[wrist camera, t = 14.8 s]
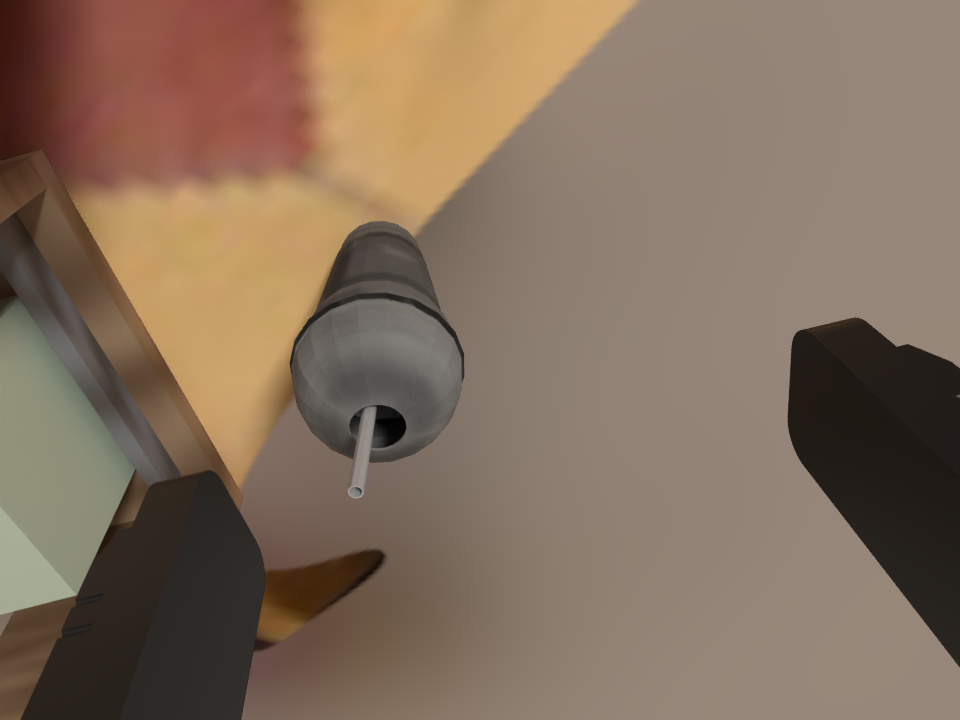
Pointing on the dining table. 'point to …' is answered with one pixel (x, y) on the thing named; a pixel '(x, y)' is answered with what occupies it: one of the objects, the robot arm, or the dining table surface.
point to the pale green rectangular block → (49, 469)
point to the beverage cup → (377, 354)
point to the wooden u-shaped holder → (87, 378)
